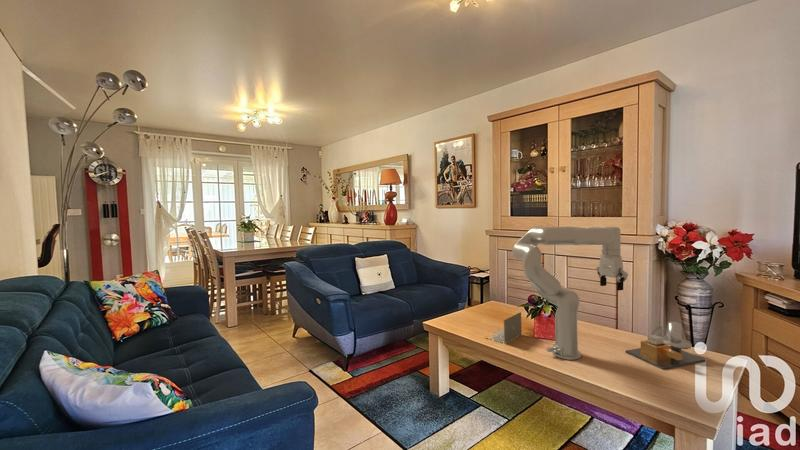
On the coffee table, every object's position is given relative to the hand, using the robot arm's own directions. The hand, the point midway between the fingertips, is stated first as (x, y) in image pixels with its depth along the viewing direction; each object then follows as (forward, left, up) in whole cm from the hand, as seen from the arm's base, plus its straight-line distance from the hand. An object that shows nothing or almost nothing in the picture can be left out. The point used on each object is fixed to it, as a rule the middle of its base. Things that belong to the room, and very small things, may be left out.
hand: (611, 287), depth 168 cm
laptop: (-40, +32, -31) cm, 60 cm away
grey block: (+10, -14, -29) cm, 34 cm away
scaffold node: (+15, -15, -30) cm, 37 cm away
